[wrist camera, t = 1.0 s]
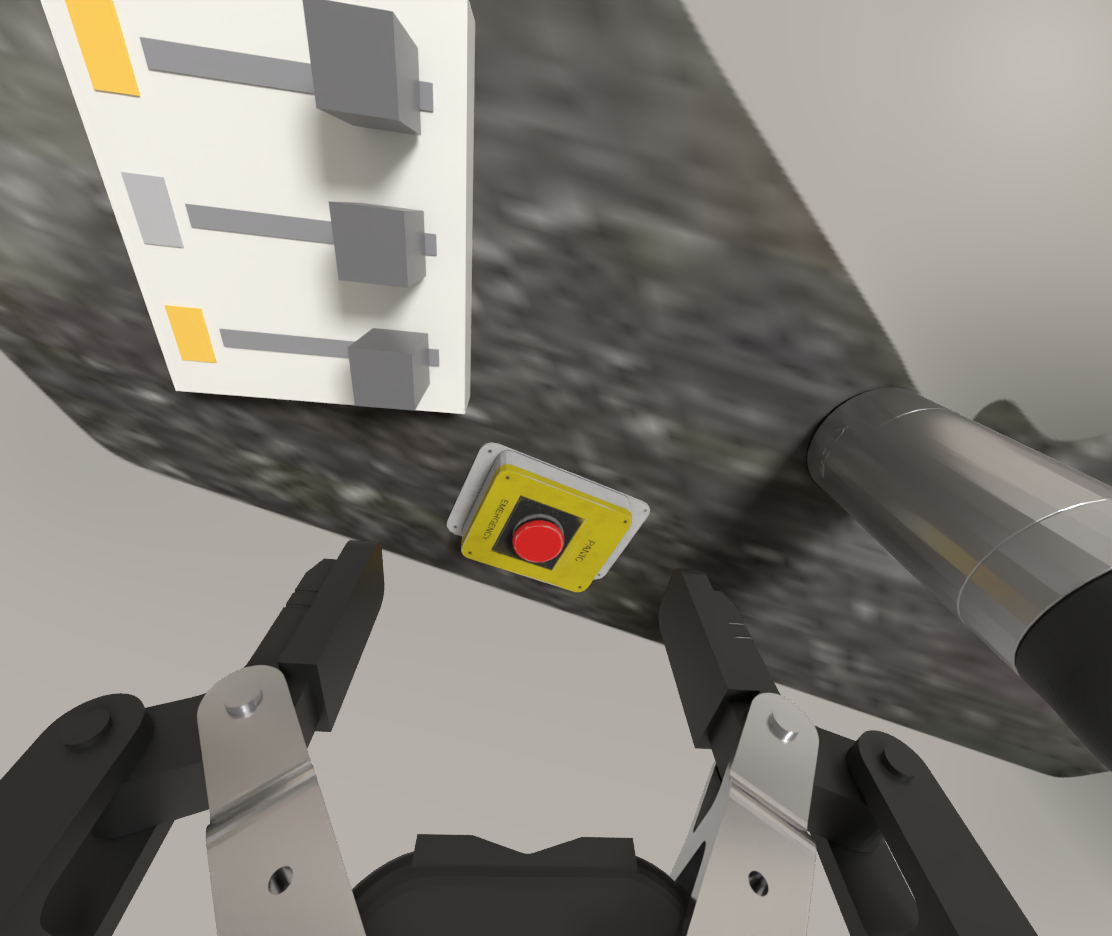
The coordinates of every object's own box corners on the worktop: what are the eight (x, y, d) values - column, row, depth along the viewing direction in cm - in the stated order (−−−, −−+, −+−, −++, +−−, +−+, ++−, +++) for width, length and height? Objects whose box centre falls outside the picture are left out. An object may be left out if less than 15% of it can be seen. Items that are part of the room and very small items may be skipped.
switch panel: (475, 22, 21) (467, -6, 18) (470, 396, 30) (464, 414, 28) (81, -47, 19) (7, -88, 16) (207, 374, 29) (174, 391, 26)
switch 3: (428, 333, 25) (411, 353, 21) (429, 384, 26) (414, 410, 23) (373, 327, 24) (347, 347, 21) (378, 379, 26) (354, 405, 22)
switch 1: (417, 48, 19) (392, 11, 15) (421, 135, 20) (398, 120, 17) (344, 35, 18) (301, -5, 15) (353, 126, 20) (316, 108, 16)
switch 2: (423, 210, 22) (404, 211, 18) (426, 275, 23) (408, 287, 20) (361, 202, 21) (328, 201, 18) (367, 269, 23) (338, 280, 19)
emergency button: (479, 464, 29) (667, 536, 33) (485, 435, 32) (653, 502, 36) (434, 561, 33) (606, 614, 37) (444, 525, 36) (599, 576, 41)
